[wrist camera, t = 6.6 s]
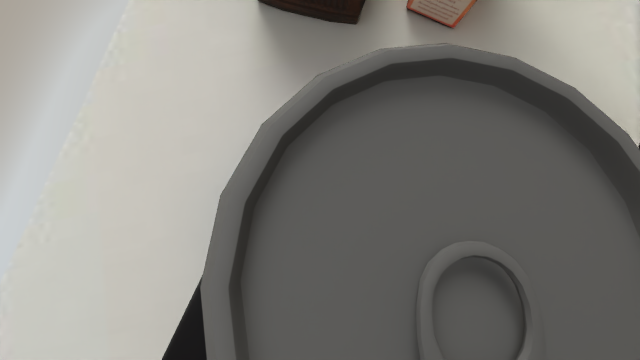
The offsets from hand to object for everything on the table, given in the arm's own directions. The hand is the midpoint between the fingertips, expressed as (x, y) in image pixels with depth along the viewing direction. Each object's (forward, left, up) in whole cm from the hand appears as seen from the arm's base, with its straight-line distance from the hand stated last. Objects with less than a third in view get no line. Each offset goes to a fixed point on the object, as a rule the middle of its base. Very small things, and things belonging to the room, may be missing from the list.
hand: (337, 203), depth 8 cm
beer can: (-1, -1, -7) cm, 7 cm away
